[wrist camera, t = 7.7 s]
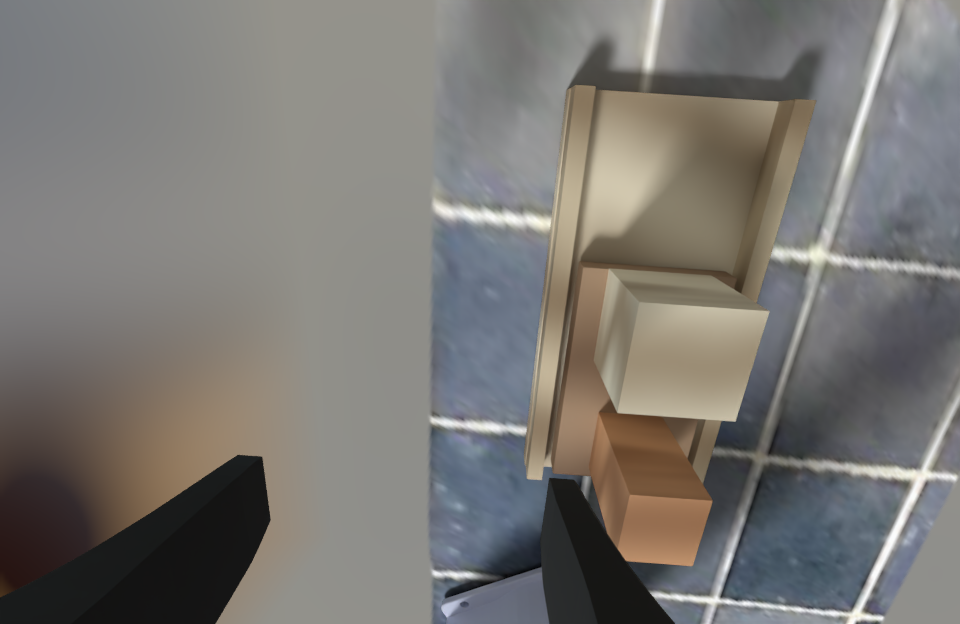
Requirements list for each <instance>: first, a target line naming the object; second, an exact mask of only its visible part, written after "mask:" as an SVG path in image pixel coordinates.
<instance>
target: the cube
mask: <svg viewBox="0 0 960 624" xmlns="http://www.w3.org/2000/svg"><path fill="white" fill-rule="evenodd" d="M769 312H770V311H768V310H767V309H765V308H763V307H762V306H760V305H759V304H757V303H755V302H754V301H752V300H750V299H749V298H747V297H746V296H744V295H742V294H741V293H739V292H737V291H736V290H734V289H732V288H731V287H729V286H728V285H726V284H724V283H723V282H721V281H719V280H718V279H716V278H715V277H713V276H711V275H696V274H682V273H667V272H653V271H638V270H624V269H609V271H608V277H607V283H606V289H605V295H604V301H603V307H602V313H601V319H600V325H599V331H598V337H597V343H596V349H595V355H594V362H595V364H596V367H597V369H598V371H599V373H600V375H601V378H602V380H603V382H604V384H605V387H606V389H607V391H608V393H609V396H610V398H611V400H612V402H613V404H614V407H615V409H616V411H617V413H623V414H637V415H651V416H665V417H679V418H693V419H706V420H720V421H734V422H736V418H737V415H738V412H739V409H740V405H741V402H742V399H743V396H744V392H745V389H746V386H747V383H748V379H749V376H750V373H751V370H752V367H753V363H754V360H755V357H756V354H757V350H758V347H759V344H760V341H761V337H762V334H763V331H764V328H765V324H766V321H767V318H768V315H769Z"/></svg>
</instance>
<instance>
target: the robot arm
mask: <svg viewBox="0 0 960 624" xmlns="http://www.w3.org/2000/svg"><path fill="white" fill-rule="evenodd" d="M269 522H270V512H269V505H268V497H267V490H266V482H265V474H264V467H263V460H262V457H258V456H245V455H237V456H236V457H234V458H232V459H231V460H229V461H228V462H226V463H225V464H223V465H222V466H220V467H219V468H217V469H216V470H214V471H213V472H211V473H210V474H208V475H207V476H205V477H204V478H202V479H201V480H199V481H198V482H196V483H195V484H193V485H192V486H190V487H189V488H188V489H186V490H184V491H183V492H182V493H180V494H178V495H177V496H176V497H174V498H172V499H171V500H170V501H168V502H166V503H165V504H163V505H162V506H161V507H159V508H158V509H156V510H155V511H153V512H151V513H150V514H148V515H147V516H145V517H143V518H142V519H140V520H138V521H137V522H135V523H134V524H132V525H131V526H129V527H127V528H126V529H124V530H122V531H121V532H119V533H117V534H116V535H114V536H113V537H111V538H109V539H108V540H107V541H105V542H103V543H101V544H100V545H98V546H96V547H95V548H93V549H91V550H89V551H88V552H86V553H84V554H82V555H81V556H79V557H77V558H75V559H74V560H72V561H70V562H68V563H66V564H65V565H63V566H61V567H59V568H57V569H55V570H53V571H52V572H50V573H48V574H46V575H44V576H42V577H40V578H39V579H37V580H35V581H33V582H31V583H29V584H27V585H25V586H23V587H21V588H19V589H17V590H15V591H13V592H11V593H9V594H7V595H5V596H3V597H0V624H215V623H216V622H217V620H218V618H219V617H220V615H221V613H222V612H223V610H224V608H225V607H226V605H227V603H228V602H229V600H230V598H231V597H232V595H233V593H234V592H235V590H236V588H237V586H238V585H239V583H240V581H241V580H242V578H243V576H244V575H245V573H246V571H247V569H248V568H249V566H250V564H251V562H252V561H253V558H254V556H255V554H256V552H257V550H258V548H259V545H260V543H261V541H262V539H263V536H264V534H265V532H266V529H267V527H268V525H269ZM540 545H541V563H542V567H540V568H537V569H534V570H531V571H528V572H525V573H522V574H519V575H515V576H512V577H509V578H506V579H503V580H500V581H497V582H494V583H491V584H488V585H485V586H482V587H479V588H476V589H473V590H470V591H467V592H464V593H461V594H457V595H454V596H451V597H448V598H446V599H444V600H443V601H442V606H441V609H442V611H443V613H444V614H445V616H446V617H447V623H446V624H675V623H674V622H673V620H672V619H671V618H670V617H669V616H668V615H667V614H666V612H665V611H664V610H663V609H662V607H661V606H660V605H659V604H658V603H657V601H656V600H655V599H654V598H653V596H652V595H651V594H650V592H649V591H648V590H647V589H646V587H645V586H644V585H643V583H642V582H641V581H640V579H639V578H638V577H637V575H636V574H635V573H634V571H633V570H632V569H631V567H630V566H629V564H628V563H627V562H626V560H625V559H624V557H623V556H622V555H621V553H620V552H619V550H618V549H617V547H616V546H615V544H614V543H613V541H612V540H611V538H610V537H609V535H608V534H607V532H606V531H605V529H604V528H603V526H602V525H601V523H600V521H599V520H598V518H597V517H596V515H595V513H594V512H593V510H592V508H591V507H590V505H589V503H588V502H587V500H586V498H585V496H584V495H583V493H582V491H581V489H580V488H579V486H578V484H577V483H576V482H575V481H574V480H570V479H557V478H549V483H548V490H547V497H546V504H545V511H544V518H543V525H542V532H541V539H540Z"/></svg>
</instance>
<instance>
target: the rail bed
mask: <svg viewBox="0 0 960 624" xmlns="http://www.w3.org/2000/svg"><path fill="white" fill-rule="evenodd" d="M595 88H596V86H587V85H575V86H573V87H572V88H569V89H568V90H567V91H566V99H565V108H564V116H563V125H562V133H561V142H560V151H559V159H558V168H557V176H556V185H555V193H554V202H553V210H552V219H551V227H550V236H549V244H548V253H547V262H546V270H545V279H544V287H543V296H542V304H541V313H540V321H539V330H538V338H537V347H536V355H535V364H534V373H533V381H532V390H531V398H530V407H529V415H528V424H527V432H526V441H525V449H524V461H525V465H526V473H527V479H535V480H542V474H543V467H544V466H547V467H552V464H551V453H552V446H553V439H554V432H555V425H556V418H557V411H558V404H559V398H560V391H561V384H562V377H563V370H564V363H565V356H566V349H567V342H568V335H569V328H570V321H571V314H572V307H573V300H574V293H575V286H576V279H577V272H578V265H579V261H584V262H598V263H613V264H627V265H642V266H657V267H671V268H686V269H700V270H715V271H725V272H727V273H729V274H731V275H732V276H734V277H736V278H737V280H736V283H735V287H734V290H736V291H737V292H739V293H741V294H742V295H744V296H746V297H747V298H749V299H750V300H752V301H754V302H755V303H757V300H758V296H759V293H760V289H761V286H762V283H763V279H764V276H765V273H766V269H767V266H768V262H769V259H770V256H771V252H772V249H773V245H774V242H775V239H776V235H777V232H778V229H779V225H780V222H781V218H782V215H783V212H784V208H785V205H786V202H787V198H788V195H789V191H790V188H791V185H792V181H793V178H794V175H795V171H796V168H797V164H798V161H799V158H800V154H801V151H802V148H803V144H804V141H805V137H806V134H807V131H808V127H809V124H810V120H811V117H812V114H813V110H814V107H815V104H816V100H803V99H793V100H786V101H780V102H778V101H762V100H747V99H731V98H716V97H701V96H685V95H670V94H654V93H639V92H623V91H608V90H595ZM720 425H721V421H720V420H706V419H698V422H697V426H696V429H695V433H694V437H693V440H692V444H691V448H690V451H689V455H688V461H689V462H690V464H691V466H692V467H693V469H694V471H695V472H696V474H697V476H698V477H699V479H700V480H701V482H702V484H703V482H704V479H705V475H706V472H707V468H708V465H709V462H710V458H711V455H712V452H713V448H714V445H715V441H716V438H717V435H718V431H719V428H720Z"/></svg>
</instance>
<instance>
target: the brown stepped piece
mask: <svg viewBox="0 0 960 624" xmlns="http://www.w3.org/2000/svg"><path fill="white" fill-rule="evenodd" d="M609 269H624V270H638V271H653V272H667V273H682V274H696V275H711V276H713V277H715V278H716V279H718V280H719V281H721V282H723V283H724V284H726V285H728V286H729V287H731V288H732V289H734V287H735V283H736V280H737V278H736V277H734V276H732V275H731V274H729V273H727V272H725V271H715V270H700V269H686V268H671V267H657V266H642V265H627V264H613V263H598V262H584V261H579V265H578V272H577V279H576V286H575V293H574V300H573V307H572V314H571V321H570V328H569V335H568V342H567V349H566V356H565V363H564V370H563V377H562V384H561V391H560V398H559V404H558V411H557V418H556V425H555V432H554V439H553V446H552V453H551V464H552V470H553V473H555V474H569V475H582V476H591V477H592V481H593V484H594V488H595V491H596V495H597V498H598V502H599V506H600V509H601V513H602V516H603V520H604V523H605V527H606V530H607V534H608V535H609V537H610V538H611V540H612V541H613V543H614V544H615V546H616V547H617V549H618V550H619V552H620V553H621V555H622V556H623V557H624V559H625V560H626V561H631V562H644V563H658V564H671V565H684V566H693V563H694V560H695V557H696V554H697V550H698V547H699V544H700V541H701V537H702V534H703V531H704V528H705V525H706V521H707V518H708V515H709V512H710V509H711V505H712V502H713V500H712V499H711V497H710V495H709V494H708V492H707V490H706V489H705V487H704V485H703V484H702V482H701V480H700V479H699V477H698V476H697V474H696V472H695V471H694V469H693V467H692V466H691V464H690V462H689V461H688V455H689V451H690V448H691V444H692V440H693V437H694V433H695V429H696V426H697V422H698V419H693V418H679V417H665V416H651V415H637V414H623V413H617V411H616V409H615V407H614V404H613V402H612V400H611V398H610V396H609V393H608V391H607V389H606V387H605V384H604V382H603V380H602V378H601V375H600V373H599V371H598V369H597V367H596V364H595V362H594V355H595V349H596V343H597V337H598V331H599V325H600V319H601V313H602V307H603V301H604V295H605V289H606V283H607V277H608V271H609Z"/></svg>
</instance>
